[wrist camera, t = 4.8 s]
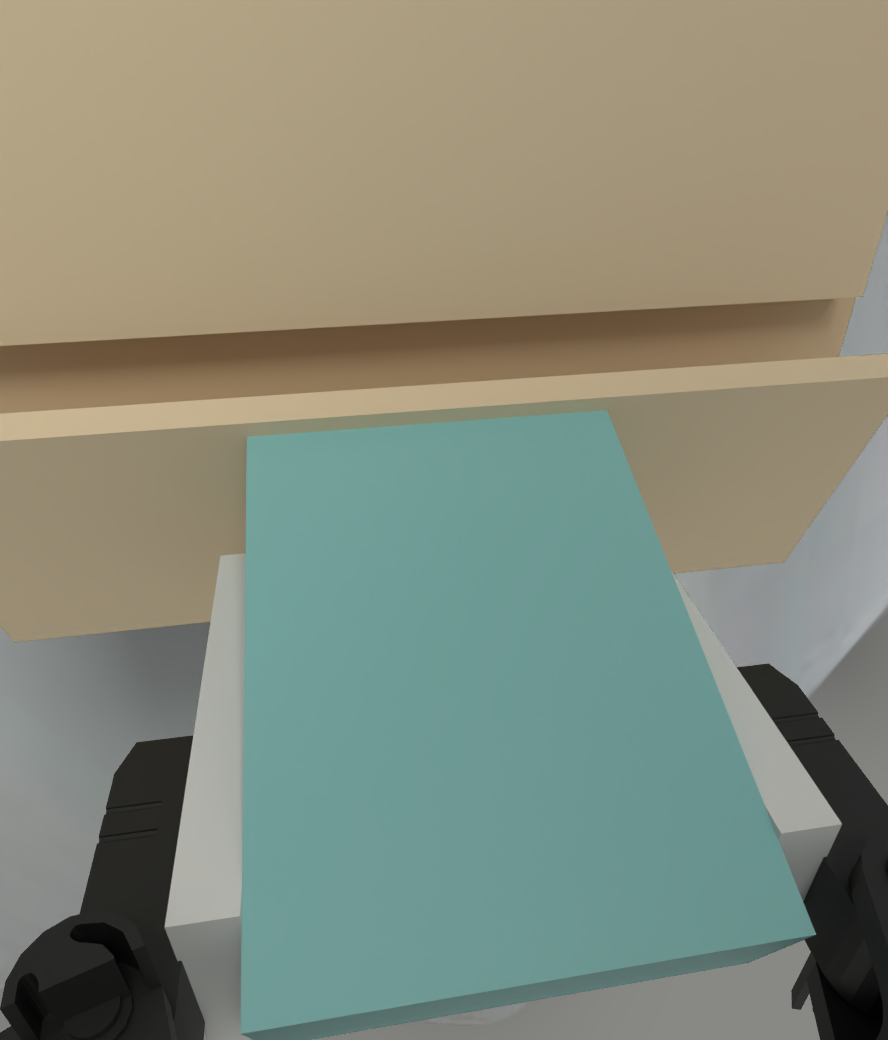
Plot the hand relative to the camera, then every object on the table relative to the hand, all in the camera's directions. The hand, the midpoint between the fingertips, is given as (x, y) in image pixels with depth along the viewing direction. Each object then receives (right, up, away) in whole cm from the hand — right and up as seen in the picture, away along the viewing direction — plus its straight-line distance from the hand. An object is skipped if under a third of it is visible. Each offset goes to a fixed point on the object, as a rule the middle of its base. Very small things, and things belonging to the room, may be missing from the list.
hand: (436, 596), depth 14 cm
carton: (-2, +10, +7) cm, 12 cm away
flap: (0, +2, +1) cm, 2 cm away
